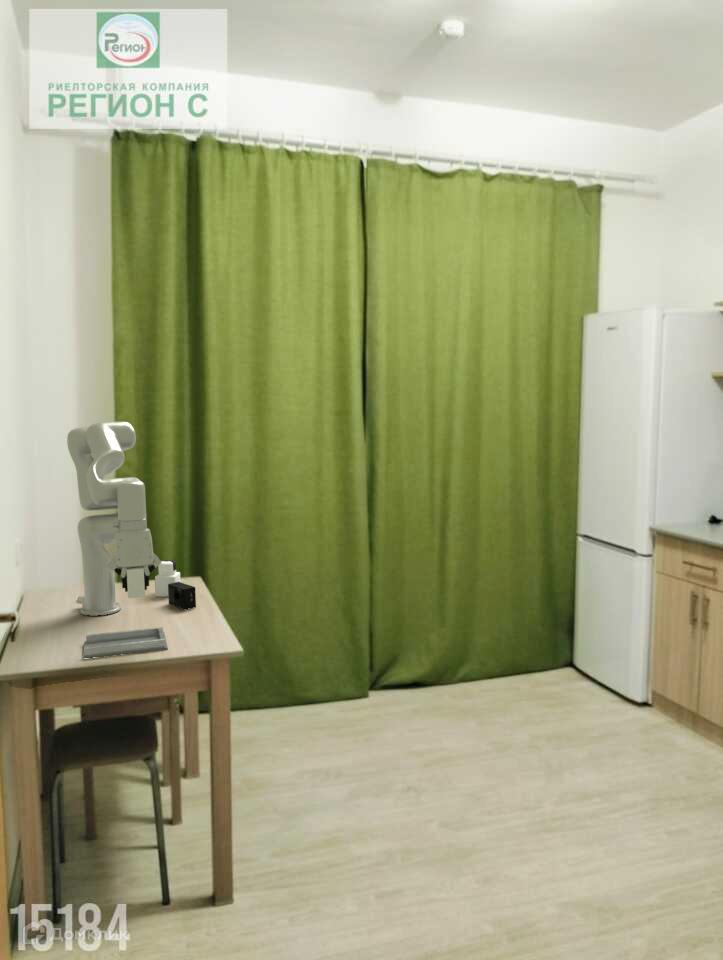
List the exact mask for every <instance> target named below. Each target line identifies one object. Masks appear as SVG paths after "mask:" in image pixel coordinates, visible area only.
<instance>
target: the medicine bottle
mask: <svg viewBox="0 0 723 960" xmlns="http://www.w3.org/2000/svg"><path fill="white" fill-rule="evenodd" d="M160 561H161V564H160V565H158V566H157V568H158V574H157V575H155V577H154V590H155V597H157V598H158V597H159V598H160V597H161V598H162V597H163V598H165V597H166V598H167V597H168V598H169V596H168V584H170V583H175V582H181V583H182V581H181V572H180V571H177V562H176V561H175V560H173V559H164V560H160Z"/></svg>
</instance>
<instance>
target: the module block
mask: <svg viewBox="0 0 723 960" xmlns="http://www.w3.org/2000/svg"><path fill="white" fill-rule="evenodd" d="M144 572H145V571H144V567H143V566H140V567H128V568H127V570H126V576H127V588H128V591H127V592H126V593H127V599H137V598H138V599H139V598H145V597H146V590H145V584H144Z"/></svg>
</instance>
